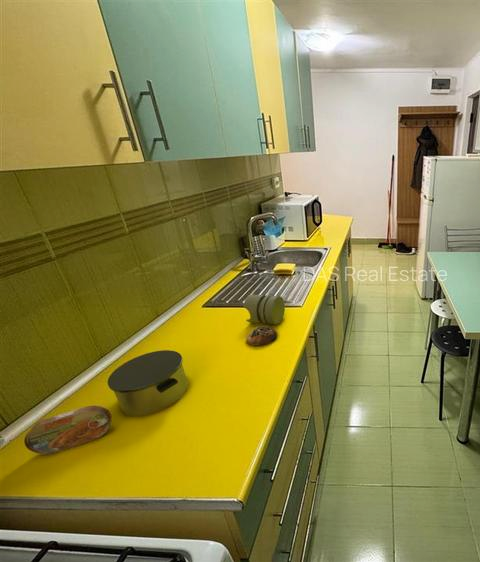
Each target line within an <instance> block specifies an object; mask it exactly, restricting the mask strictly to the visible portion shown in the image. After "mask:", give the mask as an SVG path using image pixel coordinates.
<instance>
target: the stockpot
mask: <svg viewBox="0 0 480 562" xmlns="http://www.w3.org/2000/svg"><path fill="white" fill-rule="evenodd" d="M183 361H184V360H183V356H182V354H181V353H180V352H178V351H176V350H170V349H164V350H155V351H151V352H146V353H144V354H141V355H138V356H136V357H133V358H132V359H129V360H127V361H125V362H123V363H122V364H121V365H120V366H118V367H117V368H116V369H114V370H113V371H112V372H111V374H110V375H109V376H108V378H107V381H106V382H107V386H108V388H109V390H111V391H113V393H114V396H115V397H116V400H117V402H118V404H119V406H120V409H121V411H122V412H123V414H125V415H126V416H129V417H145V416H150V415H153V414H156V413H159V412H161V411H163V410H165V409H168V408H169V407H170V406H172V405H174V404H175V403H176V402H178V401H179V400H180V399H181V398H182V397H183V396H184V395H185V394H186V392H187V390H188V388H189V381H188V378H187V374H186V372H185V368H184V366H183Z"/></svg>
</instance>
